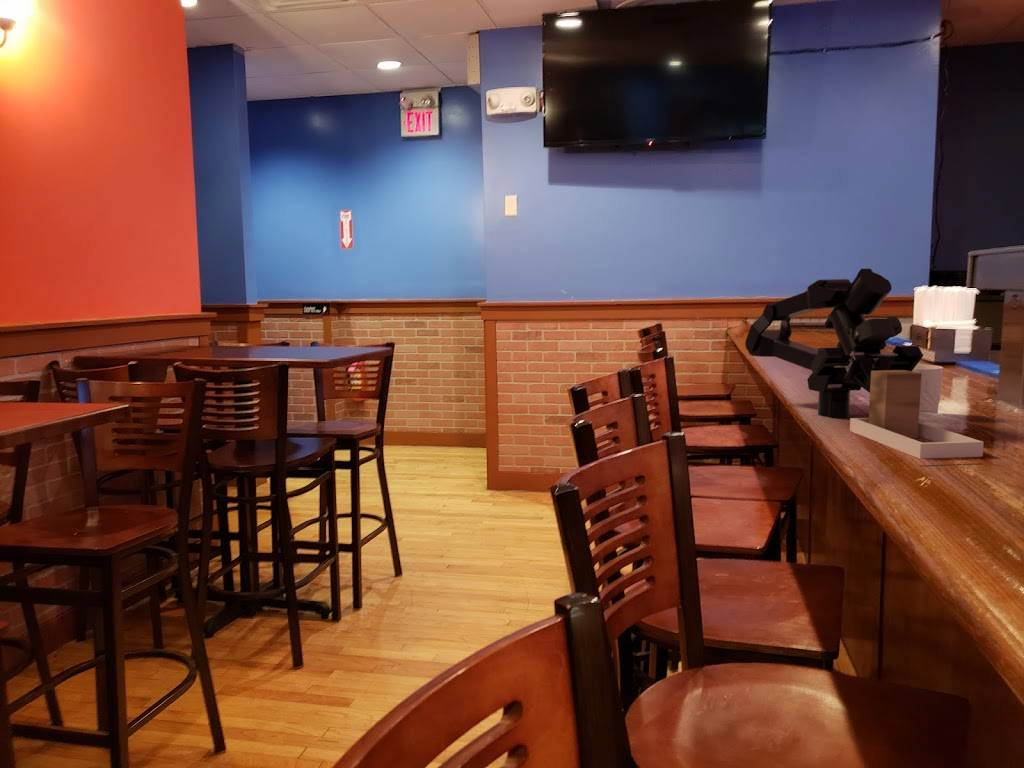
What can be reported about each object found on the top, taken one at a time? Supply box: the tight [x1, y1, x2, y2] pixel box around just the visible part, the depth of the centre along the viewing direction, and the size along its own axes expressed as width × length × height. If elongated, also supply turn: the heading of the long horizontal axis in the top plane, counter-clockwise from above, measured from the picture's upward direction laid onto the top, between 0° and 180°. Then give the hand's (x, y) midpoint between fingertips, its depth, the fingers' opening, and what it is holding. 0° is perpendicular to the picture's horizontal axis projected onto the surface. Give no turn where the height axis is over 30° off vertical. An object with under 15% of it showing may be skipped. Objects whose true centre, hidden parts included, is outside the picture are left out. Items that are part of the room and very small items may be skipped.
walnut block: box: [868, 370, 922, 439], centre depth 133 cm, size 5×6×11 cm
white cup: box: [912, 363, 944, 414], centre depth 158 cm, size 8×8×10 cm
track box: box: [849, 417, 985, 468], centre depth 129 cm, size 21×10×4 cm, turn 4°
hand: (882, 398), depth 137 cm, fingers closed
